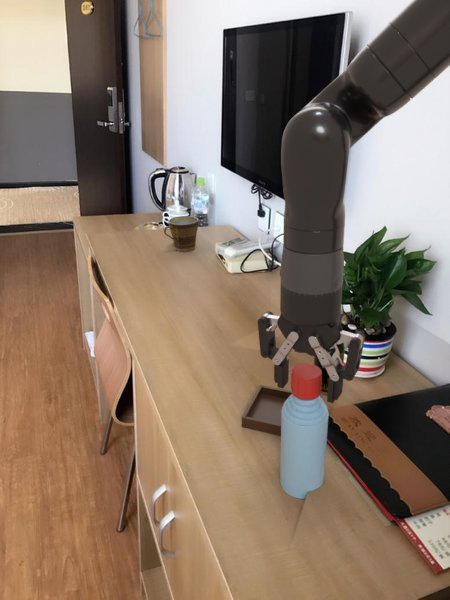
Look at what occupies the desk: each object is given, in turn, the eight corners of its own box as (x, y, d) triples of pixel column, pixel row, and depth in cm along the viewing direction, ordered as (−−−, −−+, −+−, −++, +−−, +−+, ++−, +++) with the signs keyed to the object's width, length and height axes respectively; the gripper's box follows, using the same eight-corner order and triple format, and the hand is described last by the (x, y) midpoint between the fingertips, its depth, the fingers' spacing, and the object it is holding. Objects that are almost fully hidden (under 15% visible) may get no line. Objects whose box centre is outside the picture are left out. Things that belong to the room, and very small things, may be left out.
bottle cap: (289, 384, 69) (289, 363, 68) (317, 382, 69) (318, 362, 68) (293, 401, 66) (294, 380, 64) (323, 399, 66) (324, 378, 65)
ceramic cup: (187, 242, 177) (185, 214, 172) (206, 248, 170) (204, 219, 166) (157, 251, 169) (154, 222, 165) (175, 258, 162) (173, 228, 158)
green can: (309, 381, 98) (311, 327, 93) (335, 378, 99) (339, 324, 94) (318, 397, 93) (321, 341, 88) (345, 393, 94) (350, 338, 89)
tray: (318, 405, 91) (319, 396, 90) (305, 441, 83) (306, 431, 82) (259, 393, 95) (259, 384, 94) (241, 426, 86) (241, 417, 86)
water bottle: (327, 472, 76) (335, 366, 68) (318, 504, 71) (326, 393, 63) (286, 462, 78) (289, 358, 70) (274, 492, 73) (276, 383, 65)
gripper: (379, 278, 61) (367, 392, 68) (271, 260, 68) (271, 365, 75) (360, 302, 55) (349, 424, 62) (245, 280, 62) (247, 392, 69)
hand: (306, 391), depth 68 cm, fingers open, 6 cm apart
